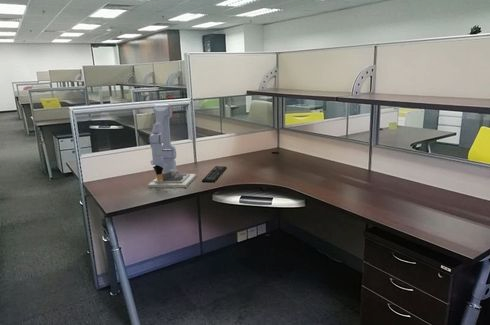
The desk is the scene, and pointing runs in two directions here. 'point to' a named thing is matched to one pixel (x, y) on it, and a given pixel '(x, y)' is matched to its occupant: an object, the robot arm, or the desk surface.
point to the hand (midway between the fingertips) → (159, 178)
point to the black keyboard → (214, 174)
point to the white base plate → (173, 182)
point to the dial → (169, 176)
